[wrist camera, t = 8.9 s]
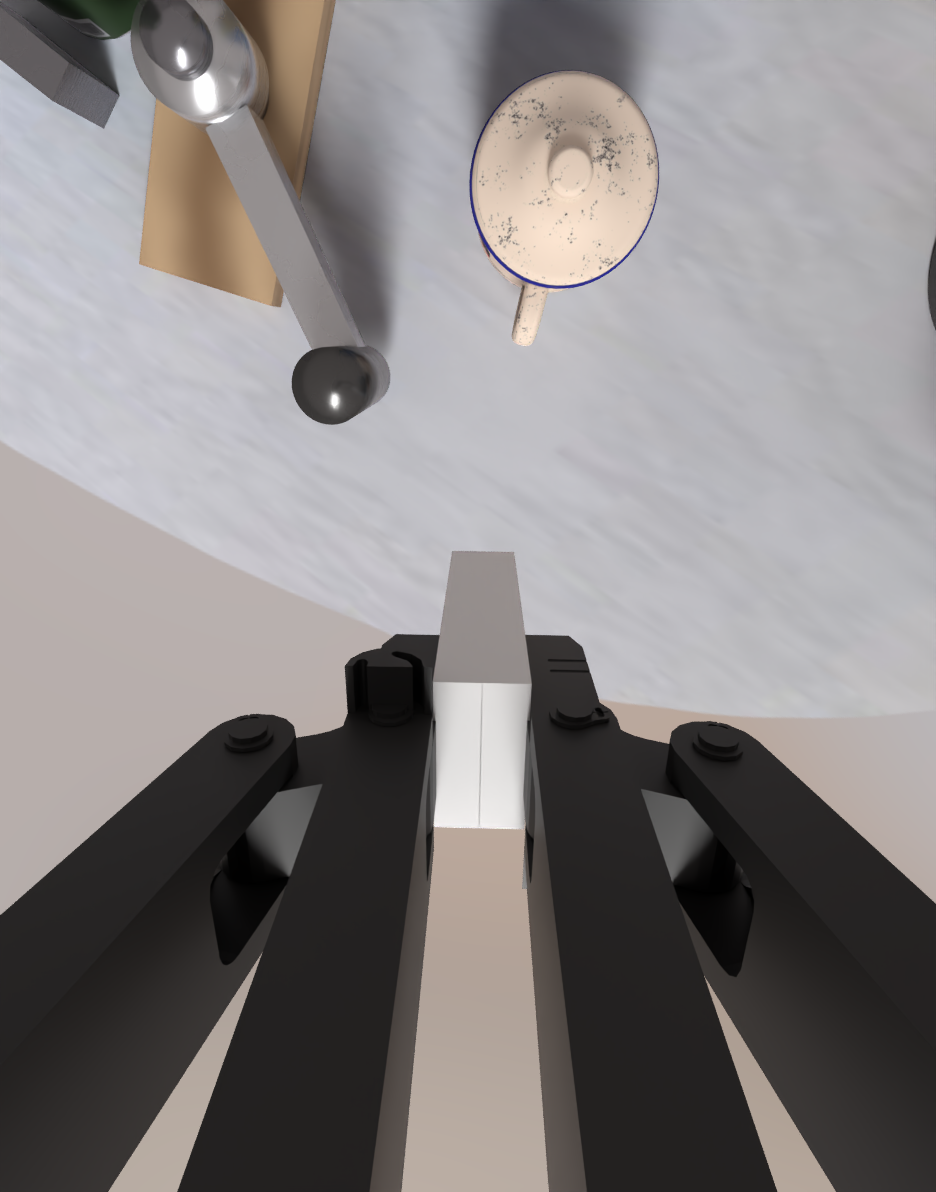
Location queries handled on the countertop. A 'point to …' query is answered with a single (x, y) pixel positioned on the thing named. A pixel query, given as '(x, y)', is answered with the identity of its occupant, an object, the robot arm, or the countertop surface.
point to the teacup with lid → (562, 186)
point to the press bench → (198, 178)
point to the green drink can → (96, 16)
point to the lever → (272, 212)
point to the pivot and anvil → (166, 38)
